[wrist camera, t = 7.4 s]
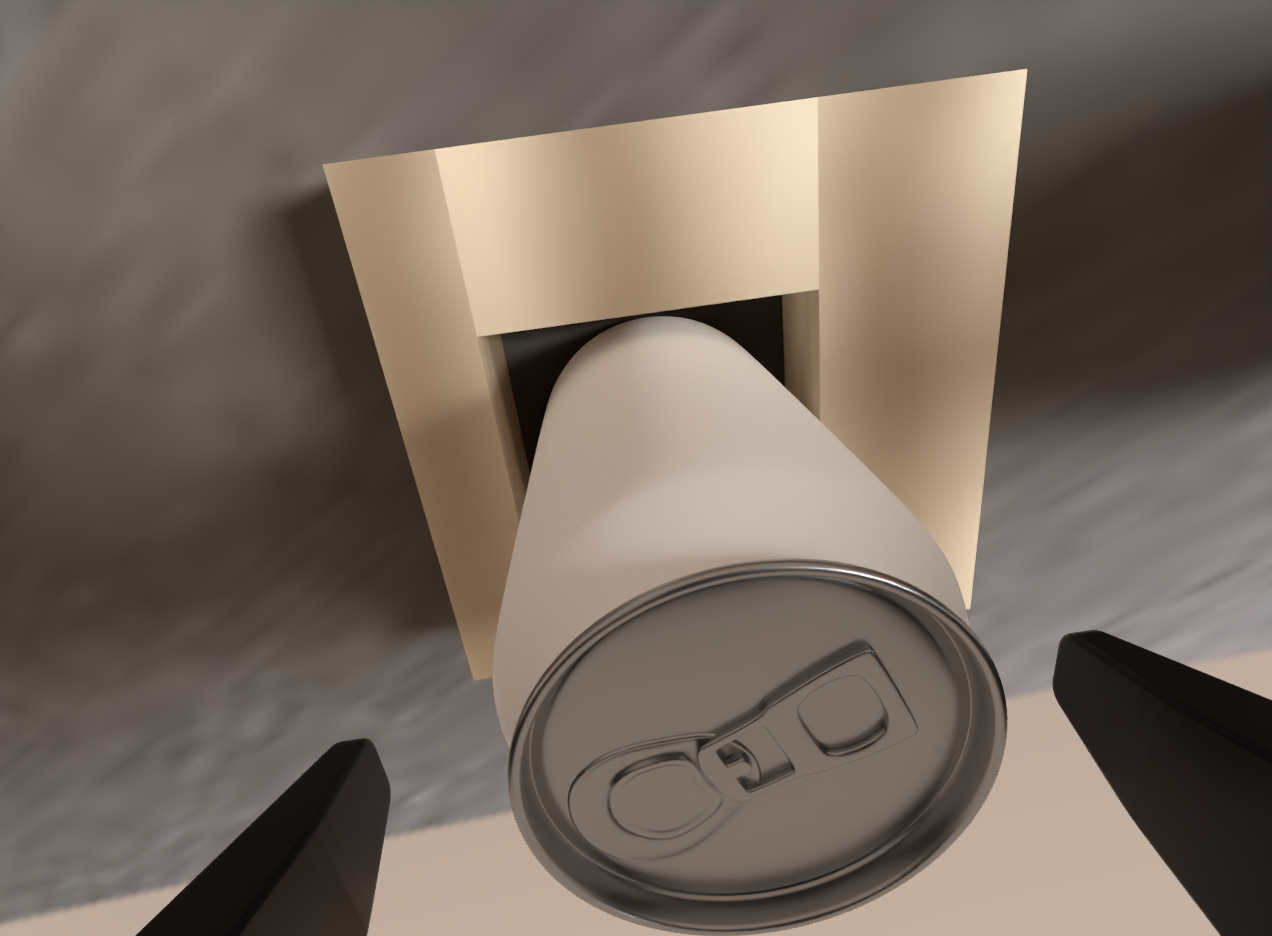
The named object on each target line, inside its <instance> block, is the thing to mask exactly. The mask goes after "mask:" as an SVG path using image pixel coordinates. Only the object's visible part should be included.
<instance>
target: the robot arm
mask: <svg viewBox="0 0 1272 936" xmlns="http://www.w3.org/2000/svg"><path fill="white" fill-rule="evenodd" d="M1053 691H1054V695H1055V697H1056V699H1057V701H1058V703H1059V705H1060V707H1061V708H1062V710H1063V711H1064V713H1065V715H1066V716H1067V718H1068V719H1069V721H1070V722H1071V724H1072V726H1073V727H1074V729H1075V730H1076V732H1077V734H1078V735H1079V737H1080V738H1081V740H1082V741H1083V743H1084V745H1085V746H1086V748H1087V750H1088V751H1089V753H1090V754H1091V756H1092V757H1093V759H1094V761H1095V762H1096V764H1097V765H1098V767H1099V768H1100V770H1101V772H1102V773H1103V775H1104V776H1105V778H1106V780H1107V781H1108V783H1109V784H1110V786H1111V787H1112V789H1113V791H1114V792H1115V794H1116V795H1117V797H1118V799H1119V800H1120V802H1121V803H1122V804H1123V806H1124V807H1125V809H1126V810H1127V812H1128V813H1129V815H1130V816H1131V818H1132V819H1133V820H1134V822H1135V823H1136V825H1137V826H1138V827H1139V829H1140V830H1141V831H1142V833H1143V834H1144V836H1145V837H1146V838H1147V840H1148V841H1149V842H1150V844H1151V845H1152V846H1153V848H1154V849H1155V850H1156V851H1157V853H1158V854H1159V855H1160V857H1161V858H1162V859H1163V861H1164V862H1165V863H1166V865H1167V866H1168V867H1169V868H1170V870H1171V871H1172V872H1173V874H1174V875H1175V876H1176V878H1177V879H1178V880H1179V882H1180V883H1181V884H1182V885H1183V887H1184V888H1185V890H1186V891H1187V892H1188V894H1189V895H1190V896H1191V897H1192V899H1193V900H1194V901H1195V903H1196V904H1197V905H1198V907H1199V908H1200V909H1201V910H1202V912H1203V913H1204V914H1205V916H1206V917H1207V919H1208V920H1209V921H1210V922H1211V924H1212V925H1213V926H1214V928H1215V929H1216V930H1217V931H1218V933H1219V934H1220V935H1221V936H1272V700H1270V699H1267V698H1265V697H1262V696H1260V695H1257V694H1255V693H1252V692H1250V691H1248V690H1245V689H1242V688H1240V687H1238V686H1235V685H1233V684H1230V683H1228V682H1225V681H1223V680H1221V679H1218V678H1215V677H1213V676H1210V675H1208V674H1206V673H1203V672H1201V671H1198V670H1196V669H1193V668H1191V667H1188V666H1186V665H1184V664H1181V663H1179V662H1176V661H1174V660H1171V659H1169V658H1166V657H1164V656H1161V655H1159V654H1156V653H1154V652H1152V651H1149V650H1147V649H1144V648H1142V647H1139V646H1137V645H1134V644H1132V643H1129V642H1127V641H1124V640H1122V639H1119V638H1117V637H1115V636H1112V635H1110V634H1107V633H1105V632H1102V631H1098V630H1089V631H1083V632H1076V633H1069V634H1067V635H1064V636H1063V638H1062V639H1061V640H1060V643H1059V648H1058V654H1057V659H1056V665H1055V670H1054V676H1053ZM390 797H391V793H390V784H389V781H388V778H387V776H386V773H385V770H384V768H383V765H382V763H381V760H380V758H379V755H378V753H377V750H376V748H375V746H374V744H373V742H372V741H371V740H369V739H365V738H362V739H355V740H349V741H342V742H339V743H336V744H335V745H333V746H332V747H331V748H330V749H329V750H328V751H327V752H325V753H324V754H323V755H322V756H321V757H320V758H319V759H318V760H317V761H316V762H315V763H314V764H313V765H312V766H311V767H310V768H309V769H308V770H307V771H306V772H305V773H304V774H303V775H302V776H301V777H300V778H299V779H297V780H296V781H295V782H294V783H293V784H292V785H291V786H290V787H289V788H288V789H287V790H286V791H285V792H284V793H283V794H282V795H281V796H280V797H279V798H278V799H277V800H276V801H275V802H274V803H273V804H272V805H270V806H269V807H268V808H267V809H266V810H265V811H264V812H263V813H262V814H261V815H260V816H259V817H258V818H257V819H256V820H255V821H254V822H253V823H252V824H251V825H250V826H249V827H248V828H247V829H246V830H245V831H244V832H242V833H241V834H240V835H239V836H238V837H237V838H236V839H235V840H234V841H233V842H232V843H231V844H230V845H229V846H228V847H227V848H226V849H225V850H224V851H223V852H222V853H221V854H220V855H219V856H218V857H217V858H216V859H214V860H213V861H212V862H211V863H210V864H209V865H208V866H207V867H206V868H205V869H204V870H203V871H202V872H201V873H200V874H199V875H198V876H197V877H196V878H195V879H194V880H193V881H192V882H191V883H190V884H189V885H187V886H186V887H185V888H184V889H183V890H182V891H181V892H180V893H179V894H178V895H177V896H176V897H175V898H174V899H173V900H172V901H171V902H170V903H169V904H168V905H167V906H166V907H165V908H164V909H163V910H162V911H161V912H160V913H158V914H157V915H156V916H155V917H154V918H153V919H152V920H151V921H150V922H149V923H148V924H147V925H146V926H145V927H144V928H143V929H142V930H141V931H140V932H139V933H138V934H137V935H136V936H367V933H368V928H369V923H370V918H371V913H372V907H373V901H374V895H375V889H376V883H377V877H378V871H379V866H380V860H381V854H382V848H383V842H384V836H385V830H386V824H387V818H388V812H389V806H390Z"/></svg>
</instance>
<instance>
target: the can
mask: <svg viewBox="0 0 1272 936" xmlns="http://www.w3.org/2000/svg"><path fill="white" fill-rule="evenodd" d="M493 691H494V699H495V705H496V710H497V714H498V718H499V722H500V725H501V728H502V731H503V734H504V737H505V740H506V742H507V745H508V747H509V749H510V753H509V761H508V788H509V796H510V802H511V806H512V810H513V814H514V817H515V820H516V823H517V825H518V828H519V830H520V832H521V834H522V836H523V838H524V840H525V842H526V844H527V845H528V847H529V849H530V850H531V852H532V853H533V854H534V856H535V857H536V859H537V860H538V861H539V862H540V864H541V865H542V866H543V867H544V868H545V869H546V870H547V872H548V873H550V875H551V876H553V877H554V878H555V879H556V880H557V881H558V882H559V883H560V884H561V885H563V886H564V887H565V888H566V889H568V890H569V891H570V892H572V893H573V894H575V895H576V896H577V897H579V898H580V899H582V900H584V901H585V902H587V903H589V904H590V905H592V906H594V907H596V908H598V909H600V910H602V911H604V912H606V913H608V914H611V915H613V916H616V917H618V918H620V919H623V920H626V921H629V922H632V923H635V924H638V925H642V926H646V927H650V928H654V929H659V930H663V931H669V932H675V933H682V934H691V935H704V936H738V935H739V936H740V935H753V934H762V933H770V932H776V931H782V930H787V929H792V928H797V927H801V926H805V925H809V924H813V923H816V922H820V921H823V920H826V919H829V918H832V917H835V916H838V915H841V914H843V913H846V912H848V911H851V910H853V909H856V908H858V907H861V906H863V905H865V904H867V903H869V902H871V901H873V900H875V899H877V898H879V897H881V896H883V895H885V894H887V893H888V892H890V891H892V890H894V889H895V888H897V887H899V886H900V885H902V884H903V883H905V882H907V881H908V880H909V879H911V878H912V877H914V876H915V875H916V874H918V873H919V872H921V871H922V870H923V869H925V868H926V867H927V866H928V865H930V864H931V863H932V862H933V861H934V860H936V859H937V858H938V857H939V856H940V855H941V854H942V853H943V852H945V851H946V850H947V849H948V848H949V847H950V846H951V845H952V844H953V843H954V842H955V841H956V840H957V838H958V837H959V836H960V835H961V834H962V833H963V832H964V830H965V829H966V828H967V827H968V825H969V824H970V823H971V822H972V820H973V819H974V817H975V816H976V814H977V813H978V811H979V810H980V808H981V807H982V805H983V804H984V802H985V800H986V799H987V796H988V795H989V793H990V791H991V789H992V787H993V784H994V782H995V780H996V777H997V775H998V772H999V769H1000V766H1001V763H1002V759H1003V755H1004V750H1005V745H1006V738H1007V707H1006V700H1005V695H1004V690H1003V686H1002V683H1001V680H1000V677H999V674H998V671H997V669H996V667H995V665H994V662H993V660H992V659H991V657H990V655H989V653H988V651H987V650H986V648H985V647H984V645H983V644H982V642H981V641H980V639H979V638H978V637H977V636H976V634H975V633H974V632H973V631H972V629H971V628H970V627H969V623H968V617H967V612H966V608H965V603H964V600H963V596H962V593H961V590H960V587H959V584H958V581H957V579H956V576H955V574H954V572H953V570H952V568H951V566H950V564H949V562H948V560H947V558H946V557H945V555H944V553H943V552H942V550H941V549H940V548H939V546H938V545H937V543H936V542H935V541H934V539H933V538H932V536H931V535H930V534H929V532H928V531H927V530H926V529H925V527H924V526H923V525H922V524H921V523H920V521H919V520H918V519H917V518H916V517H915V516H914V515H913V514H912V513H911V512H910V511H909V509H908V508H907V507H906V506H905V505H904V504H903V503H902V502H901V501H900V500H899V499H898V498H897V497H896V496H895V495H894V494H893V493H892V492H891V491H890V490H889V489H888V488H887V487H886V486H885V485H884V484H883V483H882V482H881V481H880V480H879V479H878V478H877V477H876V476H875V475H874V474H873V473H872V472H871V471H870V470H869V469H868V468H867V467H866V466H865V465H864V464H863V463H862V462H861V461H860V460H859V459H858V458H857V457H856V456H855V455H854V454H853V453H852V452H851V451H850V450H849V449H848V448H847V447H846V446H845V445H844V444H843V443H842V442H841V441H840V440H839V439H838V438H837V437H836V436H835V435H834V434H833V433H832V432H831V431H830V430H829V429H828V428H827V427H826V426H824V425H823V424H822V423H821V422H820V421H819V420H818V419H817V418H816V417H815V416H814V415H813V414H812V413H811V412H810V411H809V410H808V409H807V408H806V407H805V406H804V405H803V404H802V403H801V402H800V401H799V400H798V399H797V398H796V397H795V396H794V395H792V394H791V393H790V392H789V391H788V390H787V389H786V388H785V387H784V386H783V385H782V384H781V383H780V382H779V381H778V380H777V379H776V378H775V377H774V376H773V375H772V374H771V373H770V372H769V371H767V370H766V369H765V368H764V367H763V366H762V365H761V364H760V363H759V362H758V361H757V360H756V359H755V358H754V357H753V356H752V355H750V354H749V353H748V352H747V351H746V350H745V349H744V348H743V347H741V346H740V345H739V344H738V343H737V342H735V341H734V340H733V339H732V338H730V337H729V336H727V335H726V334H724V333H722V332H721V331H719V330H717V329H715V328H713V327H711V326H709V325H706V324H704V323H701V322H698V321H695V320H691V319H686V318H681V317H672V316H654V317H645V318H639V319H635V320H631V321H627V322H624V323H622V324H619V325H616V326H614V327H612V328H610V329H608V330H606V331H604V332H602V333H601V334H599V335H597V336H596V337H594V338H593V339H592V340H590V341H589V342H588V343H586V344H585V345H584V346H583V347H582V348H581V349H580V350H579V351H578V352H577V353H576V354H575V355H574V356H573V357H572V358H571V359H570V361H569V362H568V363H567V365H566V366H565V367H564V369H563V370H562V372H561V374H560V375H559V377H558V379H557V381H556V383H555V385H554V387H553V390H552V392H551V395H550V398H549V401H548V404H547V408H546V412H545V415H544V419H543V423H542V427H541V432H540V436H539V440H538V444H537V448H536V453H535V457H534V461H533V466H532V470H531V474H530V478H529V483H528V487H527V492H526V496H525V500H524V505H523V509H522V514H521V518H520V522H519V527H518V531H517V536H516V540H515V545H514V549H513V554H512V558H511V563H510V567H509V572H508V577H507V582H506V586H505V591H504V596H503V600H502V605H501V610H500V616H499V621H498V627H497V633H496V639H495V646H494V659H493Z"/></svg>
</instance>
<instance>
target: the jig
mask: <svg viewBox="0 0 1272 936" xmlns="http://www.w3.org/2000/svg"><path fill="white" fill-rule="evenodd" d="M1026 77H1027V69H1023V70H1015V71H1008V72H1001V73H993V74H986V75H979V76H971V77H964V78H956V79H949V80H942V81H934V82H927V83H920V84H912V85H905V86H897V87H890V88H883V89H875V90H868V91H861V92H853V93H846V94H839V95H831V96H824V97H816V98H809V99H802V100H794V101H787V102H780V103H772V104H765V105H757V106H750V107H743V108H735V109H728V110H721V111H713V112H706V113H699V114H691V115H684V116H676V117H669V118H662V119H654V120H647V121H640V122H632V123H625V124H617V125H610V126H603V127H595V128H588V129H581V130H573V131H566V132H559V133H551V134H544V135H536V136H529V137H522V138H514V139H507V140H500V141H492V142H485V143H477V144H470V145H463V146H455V147H448V148H441V149H433V150H426V151H419V152H411V153H404V154H396V155H389V156H382V157H374V158H367V159H360V160H352V161H345V162H337V163H330V164H323V168H324V171H325V175H326V178H327V181H328V185H329V188H330V192H331V195H332V198H333V202H334V205H335V209H336V212H337V215H338V219H339V222H340V226H341V229H342V233H343V236H344V239H345V243H346V246H347V250H348V253H349V256H350V260H351V263H352V267H353V270H354V273H355V277H356V280H357V284H358V287H359V291H360V294H361V297H362V301H363V304H364V308H365V311H366V314H367V318H368V321H369V325H370V328H371V331H372V335H373V338H374V342H375V345H376V349H377V352H378V355H379V359H380V362H381V366H382V369H383V372H384V376H385V379H386V383H387V386H388V389H389V393H390V396H391V400H392V403H393V407H394V410H395V413H396V417H397V420H398V424H399V427H400V430H401V434H402V437H403V441H404V444H405V447H406V451H407V454H408V458H409V461H410V464H411V468H412V471H413V475H414V478H415V482H416V485H417V488H418V492H419V495H420V499H421V502H422V505H423V509H424V512H425V516H426V519H427V522H428V526H429V529H430V533H431V536H432V540H433V543H434V546H435V550H436V553H437V557H438V560H439V563H440V567H441V570H442V574H443V577H444V580H445V584H446V587H447V591H448V594H449V598H450V601H451V604H452V608H453V611H454V615H455V618H456V621H457V625H458V628H459V632H460V635H461V638H462V642H463V645H464V649H465V652H466V656H467V659H468V662H469V666H470V669H471V673H472V676H473V679H474V680H479V679H486V678H493V659H494V646H495V639H496V633H497V627H498V621H499V616H500V610H501V605H502V600H503V596H504V591H505V586H506V582H507V577H508V572H509V567H510V563H511V558H512V554H513V549H514V545H515V540H516V536H517V531H518V527H519V522H520V518H521V514H522V509H523V505H524V500H525V496H526V492H527V487H528V483H529V478H530V472H529V467H528V462H527V457H526V453H525V448H524V443H523V439H522V434H521V429H520V424H519V420H518V415H517V410H516V405H515V401H514V396H513V391H512V387H511V382H510V377H509V372H508V368H507V363H506V358H505V353H504V349H503V344H502V339H501V335H500V334H502V333H509V332H516V331H523V330H531V329H538V328H545V327H552V326H560V325H567V324H574V323H581V322H588V321H596V320H603V319H610V318H617V317H624V316H632V315H639V314H646V313H653V312H660V311H668V310H675V309H682V308H689V307H696V306H704V305H711V304H718V303H725V302H732V301H740V300H747V299H754V298H761V297H768V296H776V295H782V311H783V343H784V375H785V388H786V389H787V390H788V391H789V392H790V393H791V394H792V395H794V396H795V397H796V398H797V399H798V400H799V401H800V402H801V403H802V404H803V405H804V406H805V407H806V408H807V409H808V410H809V411H810V412H811V413H812V414H813V415H814V416H815V417H816V418H817V419H818V420H819V421H820V422H821V423H822V424H823V425H824V426H826V427H827V428H828V429H829V430H830V431H831V432H832V433H833V434H834V435H835V436H836V437H837V438H838V439H839V440H840V441H841V442H842V443H843V444H844V445H845V446H846V447H847V448H848V449H849V450H850V451H851V452H852V453H853V454H854V455H855V456H856V457H857V458H858V459H859V460H860V461H861V462H862V463H863V464H864V465H865V466H866V467H867V468H868V469H869V470H870V471H871V472H872V473H873V474H874V475H875V476H876V477H877V478H878V479H879V480H880V481H881V482H882V483H883V484H884V485H885V486H886V487H887V488H888V489H889V490H890V491H891V492H892V493H893V494H894V495H895V496H896V497H897V498H898V499H899V500H900V501H901V502H902V503H903V504H904V505H905V506H906V507H907V508H908V509H909V511H910V512H911V513H912V514H913V515H914V516H915V517H916V518H917V519H918V520H919V521H920V523H921V524H922V525H923V526H924V527H925V529H926V530H927V531H928V532H929V534H930V535H931V536H932V538H933V539H934V541H935V542H936V543H937V545H938V546H939V548H940V549H941V550H942V552H943V553H944V555H945V557H946V558H947V560H948V562H949V564H950V566H951V568H952V570H953V572H954V574H955V576H956V579H957V581H958V584H959V587H960V590H961V593H962V596H963V600H964V603H965V608H966V609H970V605H971V595H972V586H973V577H974V567H975V558H976V548H977V539H978V529H979V520H980V511H981V501H982V492H983V482H984V473H985V463H986V454H987V445H988V435H989V426H990V416H991V407H992V397H993V388H994V379H995V369H996V360H997V350H998V341H999V331H1000V322H1001V312H1002V303H1003V294H1004V284H1005V275H1006V265H1007V256H1008V246H1009V237H1010V228H1011V218H1012V209H1013V199H1014V190H1015V180H1016V171H1017V162H1018V152H1019V143H1020V133H1021V124H1022V114H1023V105H1024V96H1025V86H1026Z"/></svg>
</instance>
